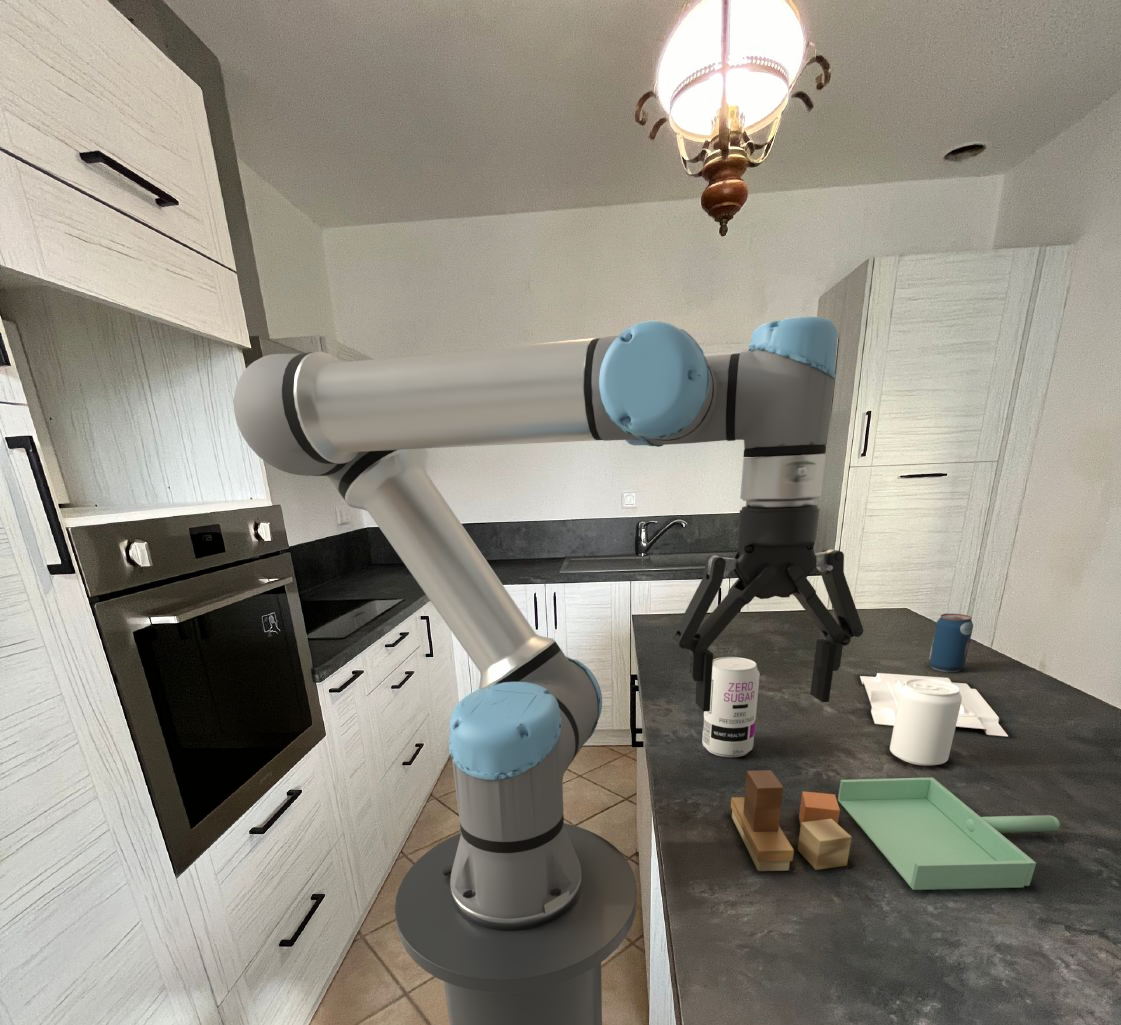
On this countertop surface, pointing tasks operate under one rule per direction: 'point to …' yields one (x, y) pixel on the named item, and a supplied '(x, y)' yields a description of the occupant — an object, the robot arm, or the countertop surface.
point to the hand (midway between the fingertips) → (761, 702)
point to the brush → (762, 821)
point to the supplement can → (731, 707)
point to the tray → (972, 707)
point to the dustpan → (940, 834)
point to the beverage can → (925, 721)
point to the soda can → (950, 642)
